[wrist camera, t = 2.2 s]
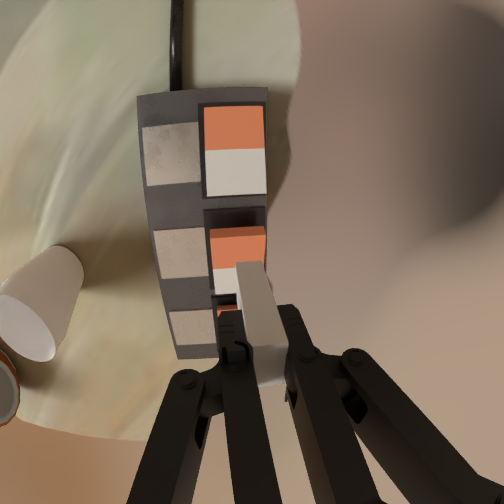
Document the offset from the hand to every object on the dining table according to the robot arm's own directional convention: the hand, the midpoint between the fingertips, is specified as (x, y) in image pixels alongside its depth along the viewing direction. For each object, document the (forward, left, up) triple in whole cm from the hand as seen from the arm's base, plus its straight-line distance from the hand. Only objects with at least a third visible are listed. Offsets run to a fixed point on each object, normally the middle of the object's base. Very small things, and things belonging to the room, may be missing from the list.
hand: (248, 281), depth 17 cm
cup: (+6, -22, -15) cm, 27 cm away
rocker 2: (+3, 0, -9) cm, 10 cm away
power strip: (-3, -3, -14) cm, 15 cm away
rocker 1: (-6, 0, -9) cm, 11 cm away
